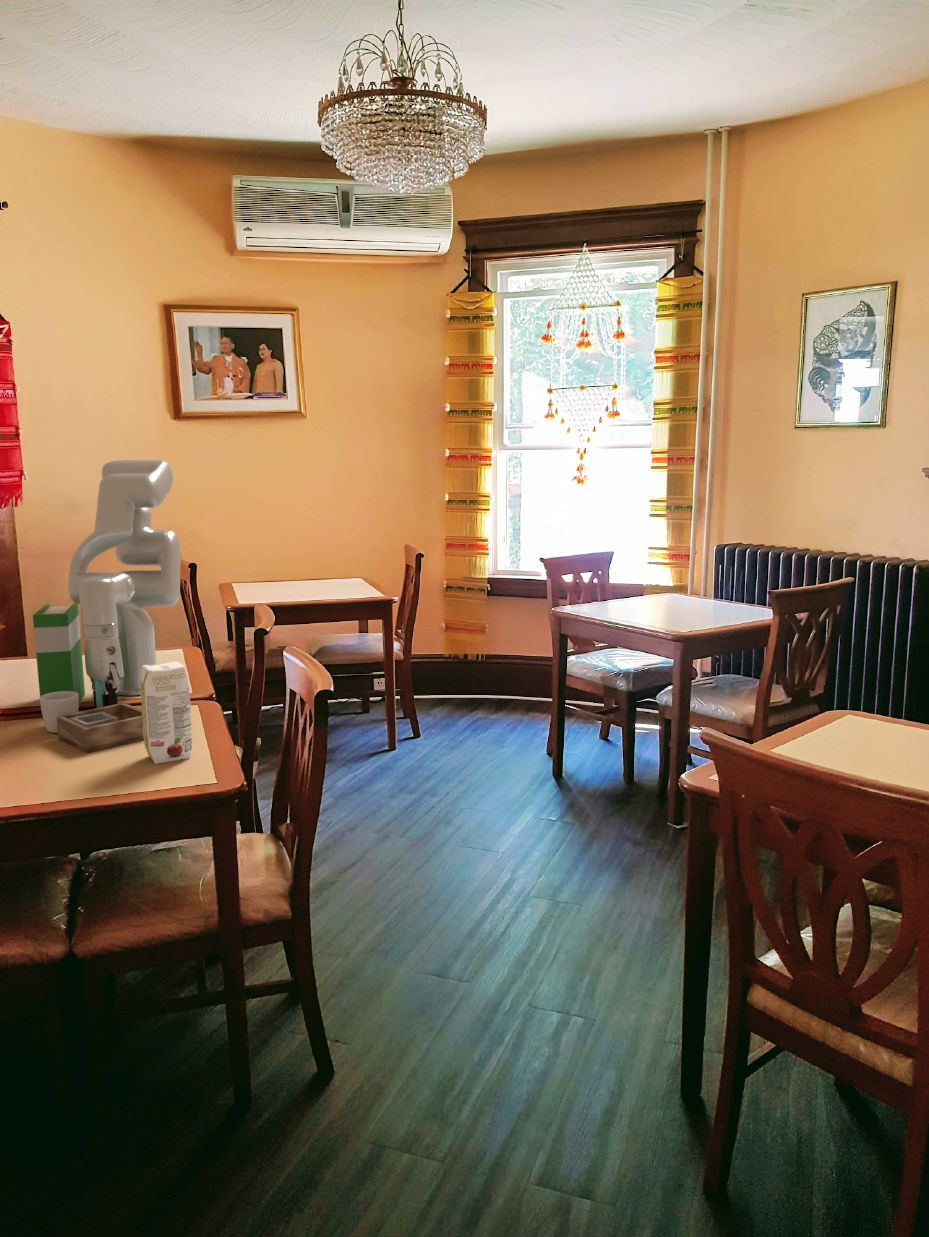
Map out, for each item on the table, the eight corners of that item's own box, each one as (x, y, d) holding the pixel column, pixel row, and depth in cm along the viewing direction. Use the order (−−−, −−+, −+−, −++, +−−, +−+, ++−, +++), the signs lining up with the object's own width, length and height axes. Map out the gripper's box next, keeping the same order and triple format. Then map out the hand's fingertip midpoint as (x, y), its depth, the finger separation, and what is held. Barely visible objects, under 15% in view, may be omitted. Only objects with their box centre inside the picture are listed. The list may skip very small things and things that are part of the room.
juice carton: (195, 758, 174) (190, 666, 171) (151, 766, 170) (145, 672, 167) (185, 748, 181) (180, 659, 177) (142, 756, 176) (136, 664, 173)
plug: (111, 715, 205) (108, 674, 203) (119, 719, 202) (116, 677, 201) (94, 719, 202) (91, 677, 200) (102, 722, 199) (99, 680, 198)
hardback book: (53, 696, 223) (46, 604, 219) (85, 694, 225) (77, 602, 221) (41, 714, 206) (32, 615, 202) (75, 712, 208) (67, 613, 204)
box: (125, 724, 198) (123, 702, 197) (155, 736, 189) (154, 714, 188) (58, 738, 187) (56, 716, 186) (87, 753, 178) (85, 729, 177)
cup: (31, 727, 196) (28, 693, 194) (67, 720, 201) (64, 687, 200) (51, 737, 188) (48, 702, 187) (87, 729, 194) (84, 695, 193)
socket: (104, 729, 191) (102, 711, 190) (118, 735, 186) (117, 717, 186) (72, 736, 186) (70, 718, 185) (86, 743, 181) (85, 724, 181)
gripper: (133, 633, 196) (138, 711, 199) (99, 624, 207) (105, 698, 210) (100, 638, 190) (106, 718, 193) (68, 628, 201) (74, 705, 205)
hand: (106, 707), depth 202 cm, fingers closed on plug, 4 cm apart
